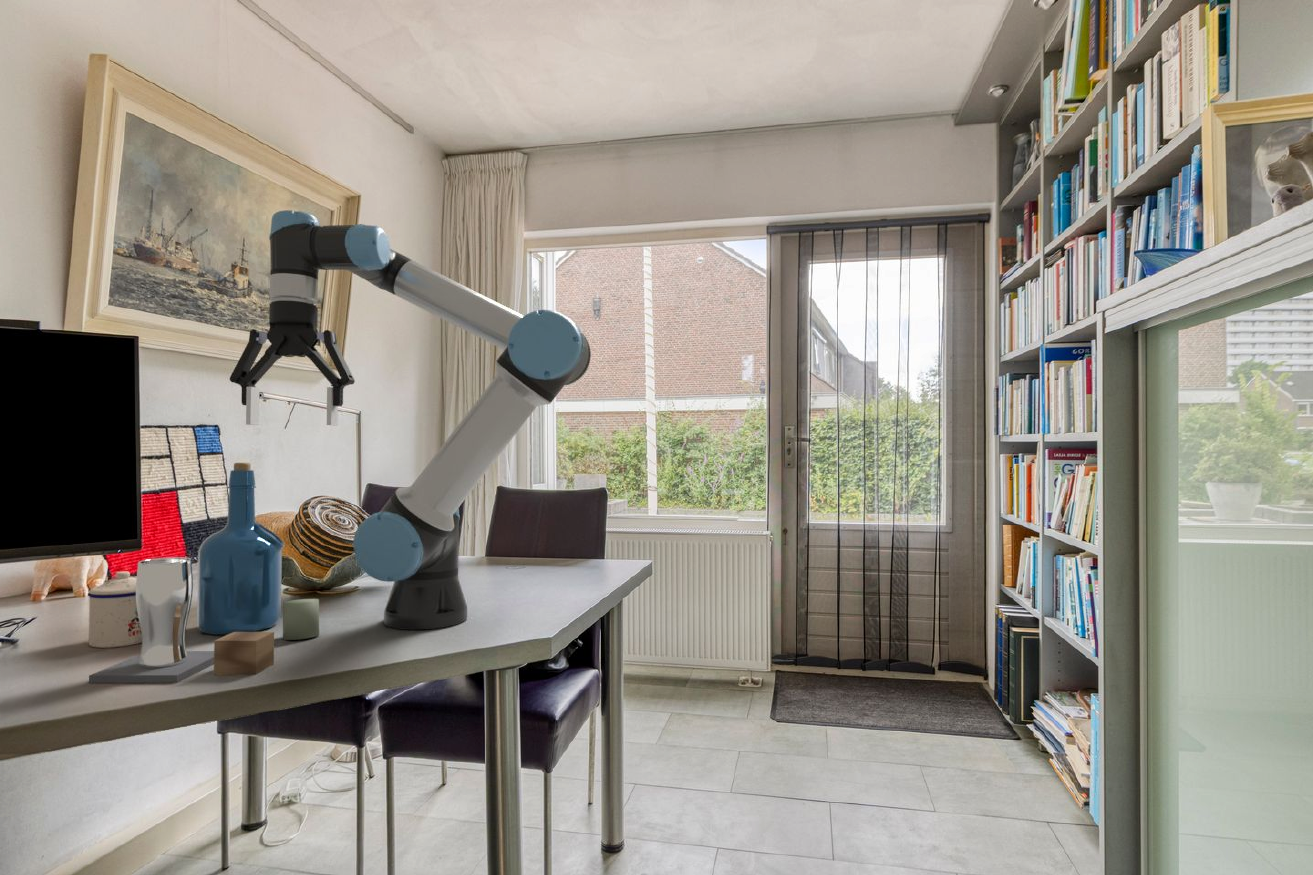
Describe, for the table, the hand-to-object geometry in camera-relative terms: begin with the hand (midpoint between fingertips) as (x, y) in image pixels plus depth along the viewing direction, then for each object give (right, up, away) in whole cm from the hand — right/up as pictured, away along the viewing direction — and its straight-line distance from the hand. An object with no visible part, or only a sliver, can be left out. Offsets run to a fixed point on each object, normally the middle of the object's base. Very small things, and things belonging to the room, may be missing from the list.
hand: (292, 425), depth 124 cm
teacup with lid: (-27, -37, -2) cm, 46 cm away
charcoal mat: (-10, -36, -19) cm, 42 cm away
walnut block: (+2, -37, -18) cm, 41 cm away
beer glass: (-9, -36, -19) cm, 41 cm away
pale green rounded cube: (+2, -37, 0) cm, 37 cm away
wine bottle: (-12, -37, +6) cm, 39 cm away
